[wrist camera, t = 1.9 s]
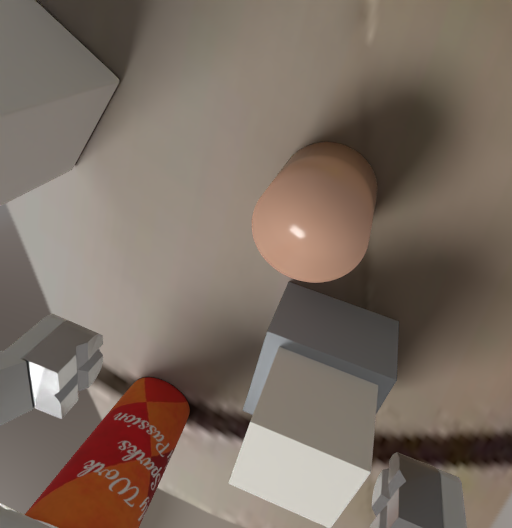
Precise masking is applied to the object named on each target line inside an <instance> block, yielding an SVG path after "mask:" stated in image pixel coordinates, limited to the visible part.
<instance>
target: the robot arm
mask: <svg viewBox="0 0 512 528" xmlns="http://www.w3.org/2000/svg"><path fill="white" fill-rule="evenodd" d="M102 344H103V337H102V335H101V334H98V333H96V332H94V331H91V330H89V329H87V328H85V327H82V326H80V325H78V324H75V323H73V322H71V321H68V320H66V319H64V318H61V317H59V316H56V315H54V314H51V315H48V316H46V317H45V318H43V319H42V320H41V321H40V322H39V323H37V324H36V325H35V326H34V327H33V328H31V329H30V330H29V331H28V332H26V333H25V334H24V335H23V336H22V337H20V338H19V339H18V340H17V341H16V342H14V343H13V344H12V345H11V346H10V347H8V348H7V349H6V350H5V351H1V350H0V426H1V425H3V424H5V423H7V422H9V421H11V420H12V419H15V418H17V417H19V416H21V415H23V414H25V413H27V412H29V411H31V410H33V408H36V409H38V410H41V411H43V412H45V413H48V414H50V415H53V416H55V417H58V418H60V419H62V418H63V417H64V416H65V415H66V413H67V412H68V411H69V410H70V409H71V408H72V406H73V405H74V404H75V403H76V402H77V401H78V391H81V390H83V389H86V388H89V387H90V385H91V384H92V383H93V382H94V380H95V379H96V377H97V375H98V373H99V372H100V370H101V366H102V362H103V355H102V353H101V352H100V350H99V348H100V347H101V346H102ZM372 509H373V511H374V513H375V515H376V518H375V520H374V521H373V522H372V524H371V525H370V528H467V525H466V516H465V508H464V500H463V491H462V483H461V481H460V479H459V477H457V476H454V475H452V474H449V473H447V472H444V471H442V470H439V469H436V467H433V466H430V465H428V464H425V463H423V462H420V461H417V460H415V459H412V458H410V457H407V456H404V455H402V454H399V453H395V454H393V456H392V457H391V459H390V460H389V468H388V469H384V470H382V472H381V473H380V475H379V477H378V479H377V481H376V484H375V487H374V492H373V497H372ZM0 528H51V527H49V526H47V525H45V524H43V523H41V522H39V521H37V520H34V519H32V518H30V517H28V516H26V515H24V514H22V513H19V512H18V511H16V510H14V509H12V508H9V507H7V506H5V505H3V504H1V503H0Z"/></svg>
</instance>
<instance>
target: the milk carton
mask: <svg viewBox="0 0 512 528" xmlns="http://www.w3.org/2000/svg"><path fill="white" fill-rule="evenodd" d="M118 84H119V79H118V78H117V77H116V76H115V75H114V74H113V73H112V72H111V71H110V70H109V69H108V68H107V67H106V66H105V65H104V64H103V63H102V62H101V61H100V60H98V59H97V58H96V57H95V56H94V55H93V54H92V53H91V52H90V51H89V50H88V49H87V48H86V47H85V46H83V45H82V44H81V43H80V42H79V41H78V40H77V39H76V38H75V37H74V36H73V35H72V34H71V33H70V32H69V31H67V30H66V29H65V28H64V27H63V26H62V25H61V24H60V23H59V22H58V21H57V20H56V19H55V18H54V17H52V16H51V15H50V14H49V13H48V12H47V11H46V10H45V9H44V8H43V7H42V6H41V5H40V4H39V3H37V2H36V1H35V0H0V206H1V205H3V204H5V203H7V202H9V201H11V200H13V199H15V198H17V197H19V196H21V195H23V194H25V193H27V192H29V191H31V190H33V189H35V188H37V187H39V186H41V185H43V184H45V183H47V182H49V181H51V180H53V179H55V178H57V177H59V176H61V175H63V174H65V173H67V172H69V171H70V170H72V169H73V167H74V165H75V163H76V162H77V160H78V158H79V156H80V154H81V152H82V150H83V149H84V147H85V145H86V143H87V141H88V139H89V138H90V136H91V134H92V132H93V130H94V128H95V126H96V125H97V123H98V121H99V119H100V117H101V115H102V114H103V112H104V110H105V108H106V106H107V104H108V102H109V101H110V99H111V97H112V95H113V93H114V91H115V90H116V88H117V86H118Z"/></svg>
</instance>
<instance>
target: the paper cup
mask: <svg viewBox="0 0 512 528" xmlns="http://www.w3.org/2000/svg"><path fill="white" fill-rule="evenodd" d="M189 413H190V407H189V404H188V401H187V400H186V398H185V397H184V395H183V394H182V393H181V392H180V391H179V390H178V389H177V388H175V387H174V386H173V385H171V384H169V383H168V382H166V381H163V380H161V379H157V378H152V377H145V378H141V379H139V380H137V381H136V382H135V383H134V384H133V385H132V386H131V387H130V388H129V389H128V391H127V392H126V393H125V394H124V395H123V396H122V397H121V399H120V400H119V401H118V402H117V403H116V405H115V406H114V407H113V408H112V409H111V411H110V412H109V413H108V414H107V415H106V417H105V418H104V419H103V420H102V421H101V423H100V424H99V425H98V426H97V428H96V429H95V430H94V431H93V432H92V434H91V435H90V436H89V437H88V438H87V440H86V441H85V442H84V443H83V444H82V446H81V447H80V448H79V450H77V452H76V453H75V454H74V455H73V457H72V458H71V459H70V460H69V462H68V463H67V464H66V465H65V466H64V468H63V469H62V470H61V471H60V472H59V474H58V475H57V476H56V477H55V479H54V480H53V481H52V482H51V483H50V485H49V486H48V487H47V488H46V490H45V491H44V492H43V493H42V494H41V496H40V497H39V498H38V499H37V500H36V502H35V503H34V504H33V505H32V507H31V508H30V509H29V510H28V511H27V513H26V514H25V515H26V516H28V517H30V518H32V519H34V520H37V521H39V522H41V523H43V524H45V525H47V526H49V527H51V528H139V526H140V524H141V521H142V519H143V517H144V515H145V513H146V511H147V509H148V506H149V504H150V502H151V500H152V498H153V495H154V493H155V491H156V489H157V487H158V484H159V482H160V480H161V478H162V476H163V473H164V471H165V469H166V467H167V465H168V462H169V460H170V458H171V456H172V453H173V451H174V449H175V447H176V445H177V442H178V440H179V438H180V436H181V433H182V431H183V429H184V426H185V424H186V422H187V419H188V416H189Z"/></svg>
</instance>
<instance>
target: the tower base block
mask: <svg viewBox="0 0 512 528" xmlns="http://www.w3.org/2000/svg"><path fill="white" fill-rule="evenodd" d="M398 332H399V321H396V320H394V319H391V318H388V317H385V316H383V315H380V314H377V313H374V312H371V311H369V310H366V309H363V308H360V307H357V306H355V305H352V304H349V303H346V302H344V301H341V300H338V299H335V298H332V297H330V296H327V295H324V294H321V293H319V292H316V291H313V290H310V289H307V288H305V287H302V286H299V285H296V284H294V283H291V282H288V284H287V287H286V289H285V291H284V294H283V296H282V298H281V301H280V303H279V305H278V308H277V310H276V312H275V315H274V317H273V319H272V322H271V324H270V326H269V328H268V331H267V334H266V337H265V340H264V344H263V347H262V350H261V353H260V356H259V360H258V363H257V366H256V369H255V373H254V376H253V379H252V382H251V386H250V389H249V392H248V395H247V399H246V402H245V405H244V408H243V411H245V412H247V413H250V414H252V415H253V413H254V411H255V408H256V406H257V403H258V400H259V398H260V395H261V392H262V390H263V387H264V385H265V382H266V379H267V377H268V374H269V371H270V369H271V366H272V364H273V361H274V358H275V356H276V353H277V350H278V348H279V347H282V348H284V349H287V350H289V351H292V352H295V353H297V354H300V355H302V356H305V357H307V358H310V359H312V360H315V361H318V362H320V363H323V364H325V365H328V366H330V367H333V368H335V369H338V370H341V371H343V372H346V373H348V374H351V375H353V376H356V377H359V378H361V379H364V380H366V381H369V382H371V383H374V384H376V385H378V395H377V407H376V413H377V412H378V410H379V408H380V407H381V405H382V403H383V402H384V400H385V399H386V397H387V395H388V394H389V392H390V390H391V389H392V387H393V385H394V384H395V382H396V381H397V359H398Z"/></svg>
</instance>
